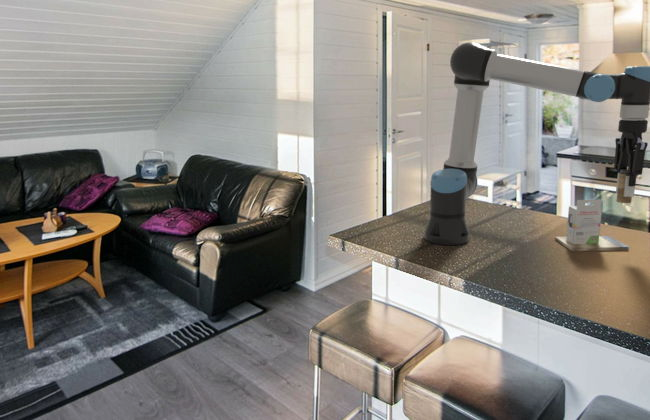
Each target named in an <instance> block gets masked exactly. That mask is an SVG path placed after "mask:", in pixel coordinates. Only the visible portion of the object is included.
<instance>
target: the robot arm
mask: <svg viewBox="0 0 650 420" xmlns="http://www.w3.org/2000/svg"><path fill="white" fill-rule="evenodd" d="M449 61H450V63H449V64H450V68H451V71H452V73H453V74H454V80H453V85H454V86H455V88H456V90H457V92H456V93H457V94H456V100H455V108H454V117H453V125H452V133H451V140H450V149H449V157H448V158H447V159H446V160H445V161H443V168H442V169H437V170H436V171H434V172H433V173H432V174H431V177H430V178H431V179H430V182H429V183H430V205H429V219H428V221H427V223H426V227H425V230H424V234H423V238H424V240H425V241H427V242H429V243H431V244H435V245H442V246H458V245H463V244H466V243H468V242H469V241H470V230H469V227H468V223H467V221H466V207H467V206H466V204H467V199H469V198H470V197H472V195H473V194H474V193H475V192H476V189H477V187H478V176H477V173H478V164H477V162H475V154H476V146H477V140H478V133H479V127H480V126H479V125H480V118H481V112H482V104H483V96H484V92H485V90H487V89H488V88H489V87H490V81H491V80H494V81H499V82H504V83H508V84H512V85H513V84H514V85H519V86H522V87H523V86H524V87H527V88H532V89H537V90H542V91H546V92H552V93H557V94H562V95H566V96H571V97H575V98H579V99H580V100H587V101H589V100H590V102H596V103H602V102H605V101H607V100H621V101H620V109H619V110H620V111H619V118H620V120H619V121H618V126H617V127H618V128H617V131H618V132H619V133H621V135H620V137H619V138H618V137H616V138H615V140H614V141H615V152H614V162H613V163H614V164H613V169H614V170H616V172H617V176H616V177H617V178H616V187H615V194H617V192H618V183H619V174H620V170H621V169H628V174H626V180H625V189H624V197H632V198H633V197H634V196H635V189H636V184H637V183H636V182H637V177H638V176H642V174H643V171H644V169H643V168H644V161H645V158H646V157H645V156H646V150H647V147H648V142H646V141H643V135H642V134H645V133H647V130H648V123H649V121H648V118H649V113H650V65H647V66H646V65H645V66H643V65H641V66H639V65H638V66H626V67H625V69H624V71H623V72H622V73H598V72H593V71H589V70H582V69H578V68H573V67H568V66H562V65H557V64H550V63H546V62H541V61H536V60H531V59H526V58H519V57H514V56H509V55H504V54H498V52H497V50H496V49H492V48H489V47H488V46H486V44H482V43H475V42H470V41H469V42H465V43H462V44H460V45H459V46H457V47H456V48H455V49H454V50H453V52H452V54H451V56H450V60H449Z"/></svg>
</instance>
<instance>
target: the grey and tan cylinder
mask: <svg viewBox="0 0 650 420" xmlns="http://www.w3.org/2000/svg"><path fill="white" fill-rule="evenodd" d="M626 174H628V168H627V169H621V170H620V174H619V183H618V192H617V193H616V194H617V195H616V202H617V203H620V204H631V203H632V198H633V197H624V189H625V180H626Z"/></svg>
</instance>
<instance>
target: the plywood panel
mask: <svg viewBox="0 0 650 420" xmlns="http://www.w3.org/2000/svg"><path fill="white" fill-rule="evenodd" d="M554 240H555V241H556V242H558V243H559V244H560V245H562V246H563V247H565V248H566V249H567V250H569V251H570V252H584V251H585V252H587V251H591V252H592V251H593V252H594V251H597V252H598V251H629V248H630V246H629V245H627V244H624V243H623V242H621V241H620V240H617V239H616V238H614V237H613V236H610V235H599V243H598V244H572V243H570V242H568V241H566V236H555V238H554Z"/></svg>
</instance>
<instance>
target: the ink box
mask: <svg viewBox="0 0 650 420" xmlns="http://www.w3.org/2000/svg"><path fill="white" fill-rule="evenodd" d="M589 203H591V204H590V205H588V204H589ZM586 204H587V205H586ZM602 207H603V199H602V198H600V199H599V198H598V199H577V201H576V205H569V206H568V214H567V224H566V225H567V226H566V235H565V237H566V241H568V242H570V243H572V244H598V243H599V236H600V232H601V222H602V212H603V209H602Z"/></svg>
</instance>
